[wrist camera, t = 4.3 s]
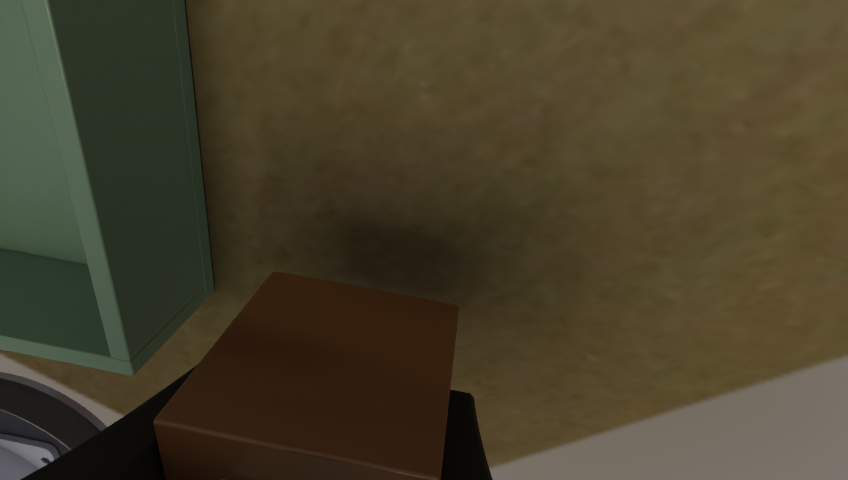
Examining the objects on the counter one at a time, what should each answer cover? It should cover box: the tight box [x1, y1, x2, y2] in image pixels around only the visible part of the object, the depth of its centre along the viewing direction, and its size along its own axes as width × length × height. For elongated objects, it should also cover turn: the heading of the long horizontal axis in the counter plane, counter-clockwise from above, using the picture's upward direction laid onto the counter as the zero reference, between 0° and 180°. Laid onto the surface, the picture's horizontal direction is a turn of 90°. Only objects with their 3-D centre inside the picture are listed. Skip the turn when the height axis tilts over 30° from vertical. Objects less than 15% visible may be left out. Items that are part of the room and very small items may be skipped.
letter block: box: [153, 271, 459, 480], centre depth 10 cm, size 4×4×5 cm
